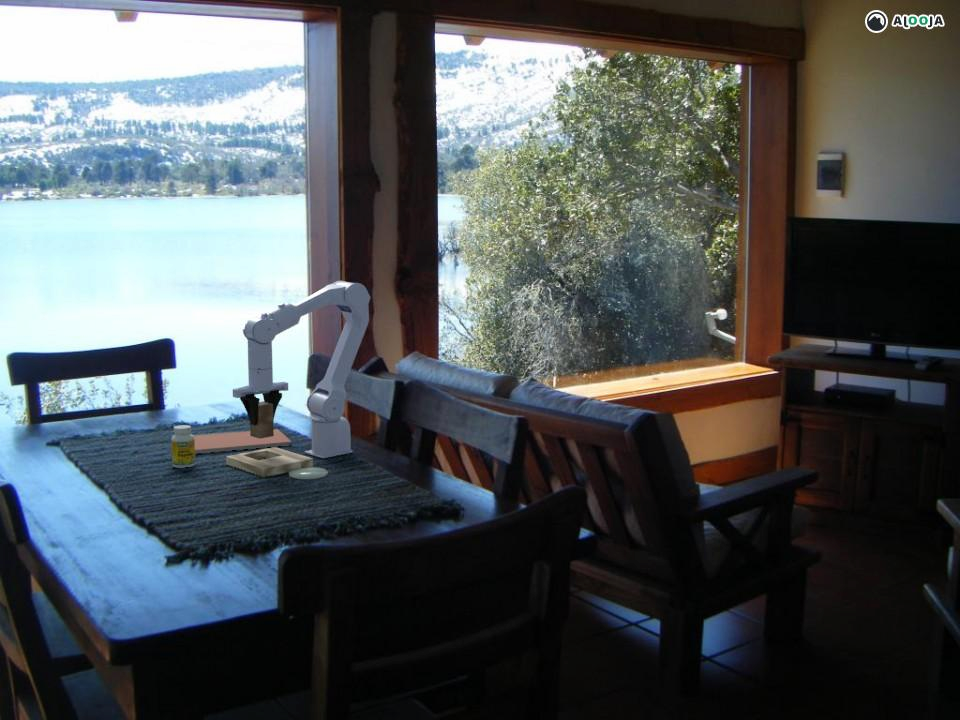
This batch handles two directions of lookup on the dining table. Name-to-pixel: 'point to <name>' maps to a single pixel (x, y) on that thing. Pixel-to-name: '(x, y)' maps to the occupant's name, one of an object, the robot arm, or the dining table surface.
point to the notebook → (237, 441)
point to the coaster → (308, 473)
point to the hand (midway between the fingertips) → (261, 423)
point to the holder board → (269, 461)
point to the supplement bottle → (183, 447)
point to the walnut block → (263, 421)
